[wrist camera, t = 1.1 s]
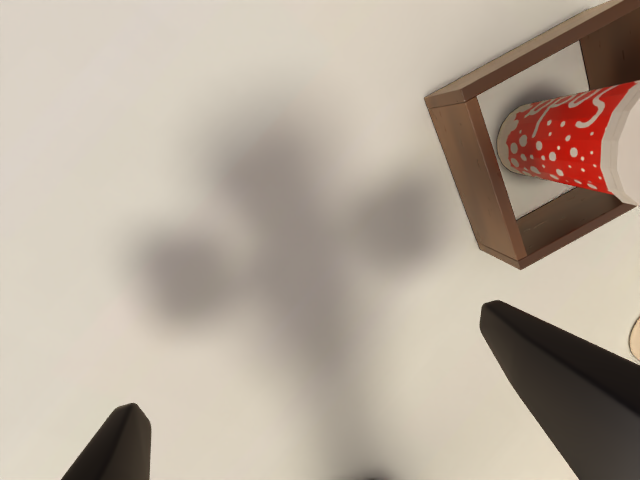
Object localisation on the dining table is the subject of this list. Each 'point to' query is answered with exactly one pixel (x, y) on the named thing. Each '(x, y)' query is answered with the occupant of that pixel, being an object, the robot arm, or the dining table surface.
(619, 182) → the beverage cup
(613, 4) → the crate
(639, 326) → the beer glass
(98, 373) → the dining table surface
